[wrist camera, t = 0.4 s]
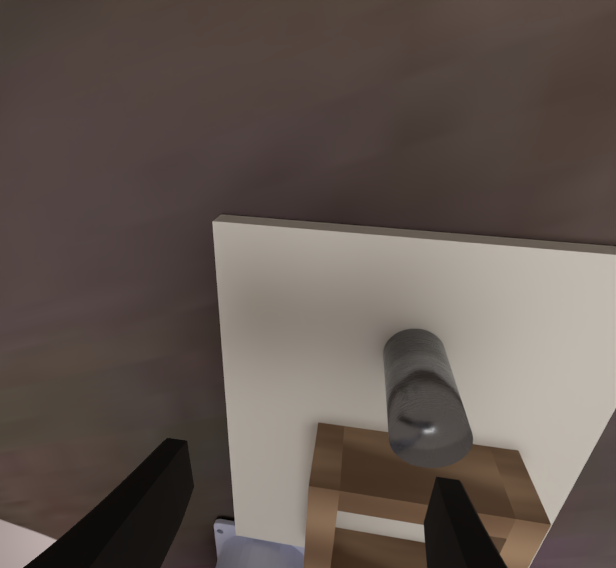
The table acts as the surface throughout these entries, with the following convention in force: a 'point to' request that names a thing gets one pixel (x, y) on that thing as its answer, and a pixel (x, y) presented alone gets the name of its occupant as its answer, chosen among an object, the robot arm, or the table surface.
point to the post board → (364, 299)
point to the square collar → (411, 500)
